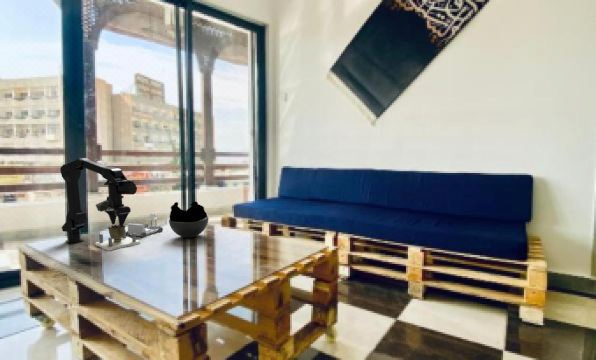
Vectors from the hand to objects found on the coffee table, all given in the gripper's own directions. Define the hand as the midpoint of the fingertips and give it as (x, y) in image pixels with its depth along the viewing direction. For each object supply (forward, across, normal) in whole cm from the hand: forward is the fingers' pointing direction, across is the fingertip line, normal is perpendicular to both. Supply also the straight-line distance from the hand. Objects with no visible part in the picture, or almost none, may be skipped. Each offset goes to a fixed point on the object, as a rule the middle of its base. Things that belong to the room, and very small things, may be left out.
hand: (117, 225), depth 168 cm
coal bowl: (+10, +16, +30) cm, 35 cm away
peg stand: (+9, 0, 0) cm, 9 cm away
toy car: (+10, -11, +20) cm, 25 cm away
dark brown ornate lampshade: (+8, 0, 0) cm, 8 cm away
